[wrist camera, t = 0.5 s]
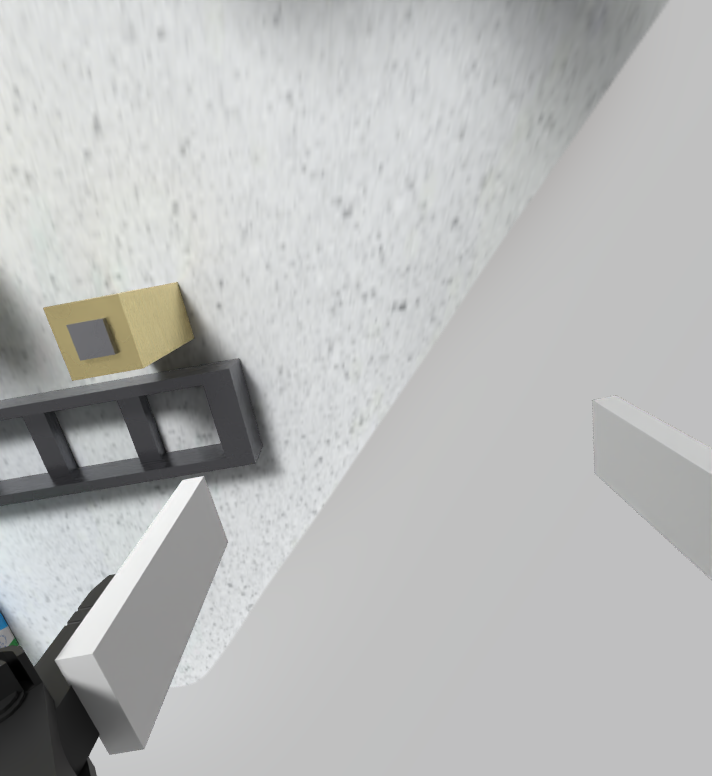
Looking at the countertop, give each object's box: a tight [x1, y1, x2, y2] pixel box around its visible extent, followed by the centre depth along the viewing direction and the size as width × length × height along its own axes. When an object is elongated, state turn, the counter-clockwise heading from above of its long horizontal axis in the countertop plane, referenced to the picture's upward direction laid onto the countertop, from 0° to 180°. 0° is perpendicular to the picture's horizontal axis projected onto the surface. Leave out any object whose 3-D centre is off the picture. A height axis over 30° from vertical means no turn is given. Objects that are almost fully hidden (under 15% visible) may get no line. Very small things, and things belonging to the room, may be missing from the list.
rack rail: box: [0, 359, 263, 506], centre depth 39 cm, size 9×30×4 cm, turn 100°
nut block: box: [43, 282, 194, 381], centre depth 33 cm, size 5×5×10 cm
